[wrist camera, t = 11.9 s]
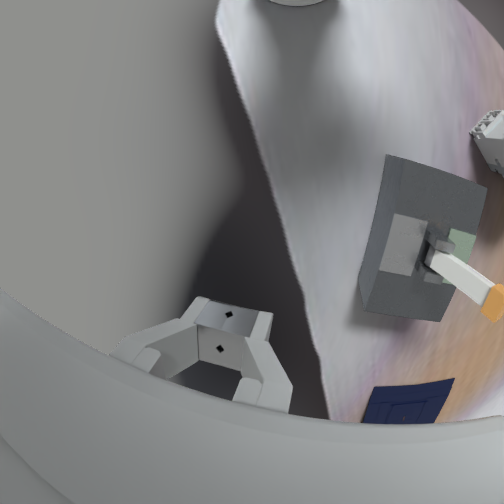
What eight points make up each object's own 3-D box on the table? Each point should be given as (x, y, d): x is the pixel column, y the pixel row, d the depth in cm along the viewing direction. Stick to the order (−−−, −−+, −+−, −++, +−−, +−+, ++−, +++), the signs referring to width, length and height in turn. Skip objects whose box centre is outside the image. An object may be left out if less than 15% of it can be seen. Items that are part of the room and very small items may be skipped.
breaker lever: (426, 241, 29) (506, 297, 18) (437, 241, 30) (513, 293, 18) (419, 264, 31) (493, 322, 19) (430, 262, 32) (501, 317, 20)
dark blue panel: (353, 442, 66) (353, 450, 62) (372, 379, 58) (373, 389, 54) (421, 435, 59) (422, 443, 56) (452, 371, 51) (456, 379, 48)
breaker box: (386, 154, 36) (414, 161, 24) (457, 176, 34) (501, 193, 22) (357, 278, 46) (366, 326, 34) (423, 290, 43) (446, 336, 31)
